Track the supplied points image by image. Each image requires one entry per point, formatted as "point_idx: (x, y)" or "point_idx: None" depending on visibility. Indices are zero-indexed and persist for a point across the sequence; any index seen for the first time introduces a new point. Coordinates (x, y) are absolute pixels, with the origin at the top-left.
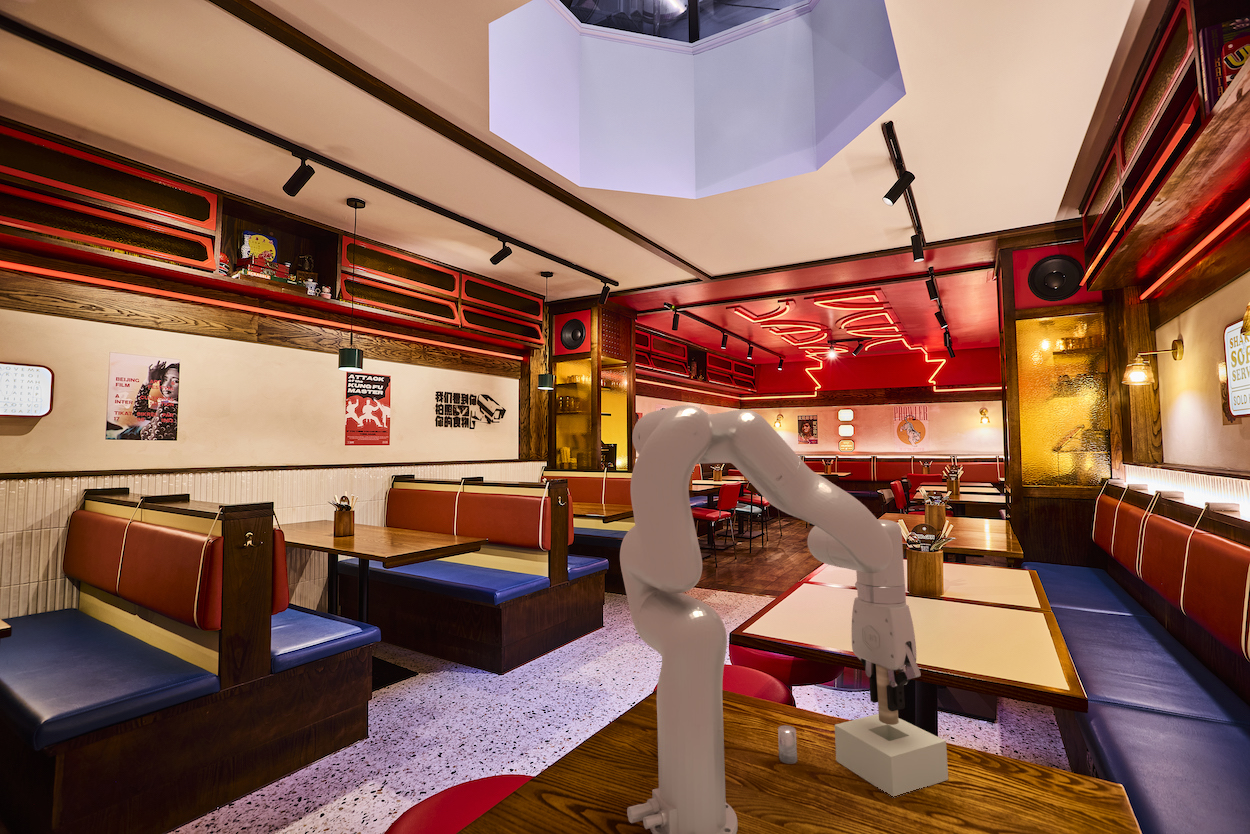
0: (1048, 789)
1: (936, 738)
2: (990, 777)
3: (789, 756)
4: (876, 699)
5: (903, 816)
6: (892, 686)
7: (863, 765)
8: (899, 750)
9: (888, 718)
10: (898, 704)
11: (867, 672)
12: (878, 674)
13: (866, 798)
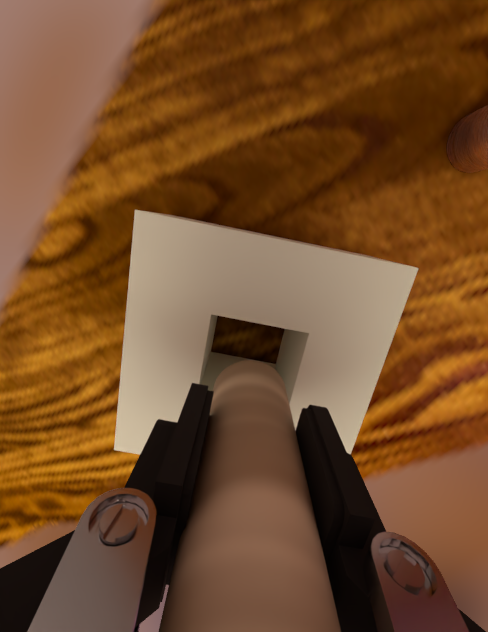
0: (34, 493)
1: (137, 443)
2: (111, 459)
3: (472, 115)
4: (300, 426)
5: (109, 158)
6: (128, 493)
7: (268, 235)
8: (149, 280)
9: (228, 376)
10: (154, 425)
11: (419, 572)
12: (282, 577)
13: (208, 152)
